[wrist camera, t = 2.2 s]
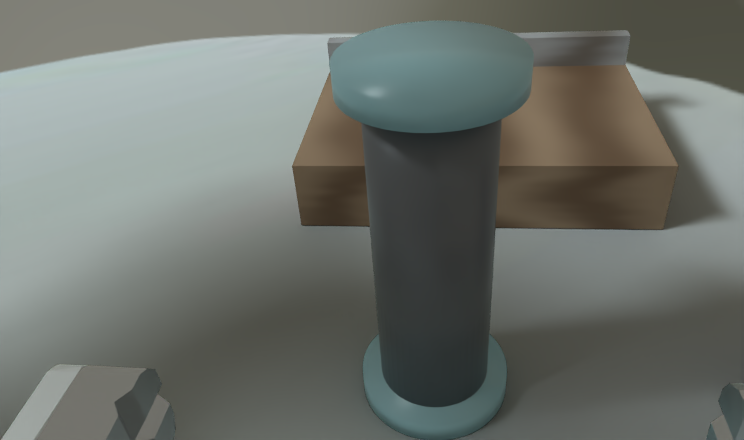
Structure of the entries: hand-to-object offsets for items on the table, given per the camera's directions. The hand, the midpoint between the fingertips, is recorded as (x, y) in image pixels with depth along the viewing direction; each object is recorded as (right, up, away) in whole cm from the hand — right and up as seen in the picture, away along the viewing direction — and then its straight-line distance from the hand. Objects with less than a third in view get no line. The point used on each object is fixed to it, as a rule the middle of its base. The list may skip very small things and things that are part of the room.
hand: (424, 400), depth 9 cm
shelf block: (+6, +6, +32) cm, 33 cm away
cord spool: (+2, -4, +18) cm, 19 cm away
